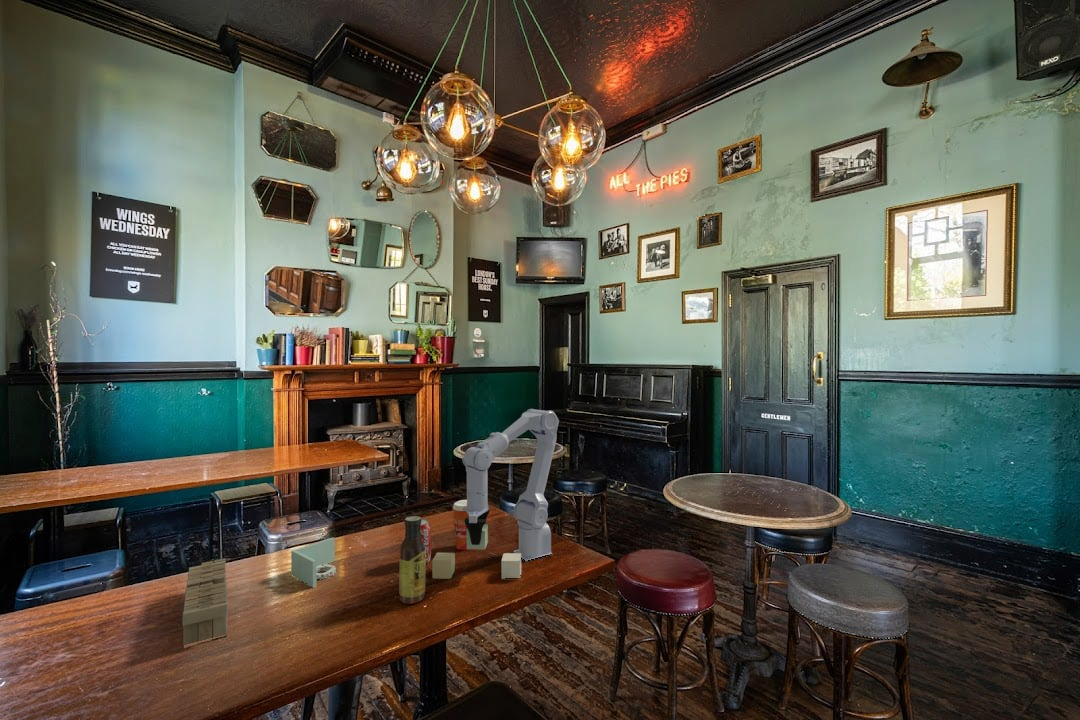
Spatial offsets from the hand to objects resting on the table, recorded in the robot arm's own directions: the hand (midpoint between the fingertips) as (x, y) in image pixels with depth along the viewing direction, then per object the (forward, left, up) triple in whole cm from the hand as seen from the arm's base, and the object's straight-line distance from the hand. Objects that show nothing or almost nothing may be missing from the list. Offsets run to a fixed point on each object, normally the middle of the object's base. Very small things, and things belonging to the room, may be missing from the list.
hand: (477, 540), depth 128 cm
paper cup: (-4, -20, -10) cm, 23 cm away
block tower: (+63, -13, -10) cm, 65 cm away
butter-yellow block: (+8, -5, -10) cm, 13 cm away
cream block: (-8, +5, -10) cm, 13 cm away
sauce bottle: (+19, +4, -10) cm, 22 cm away
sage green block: (0, 0, -1) cm, 1 cm away
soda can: (+12, -16, -10) cm, 22 cm away
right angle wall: (+37, -23, -10) cm, 44 cm away
